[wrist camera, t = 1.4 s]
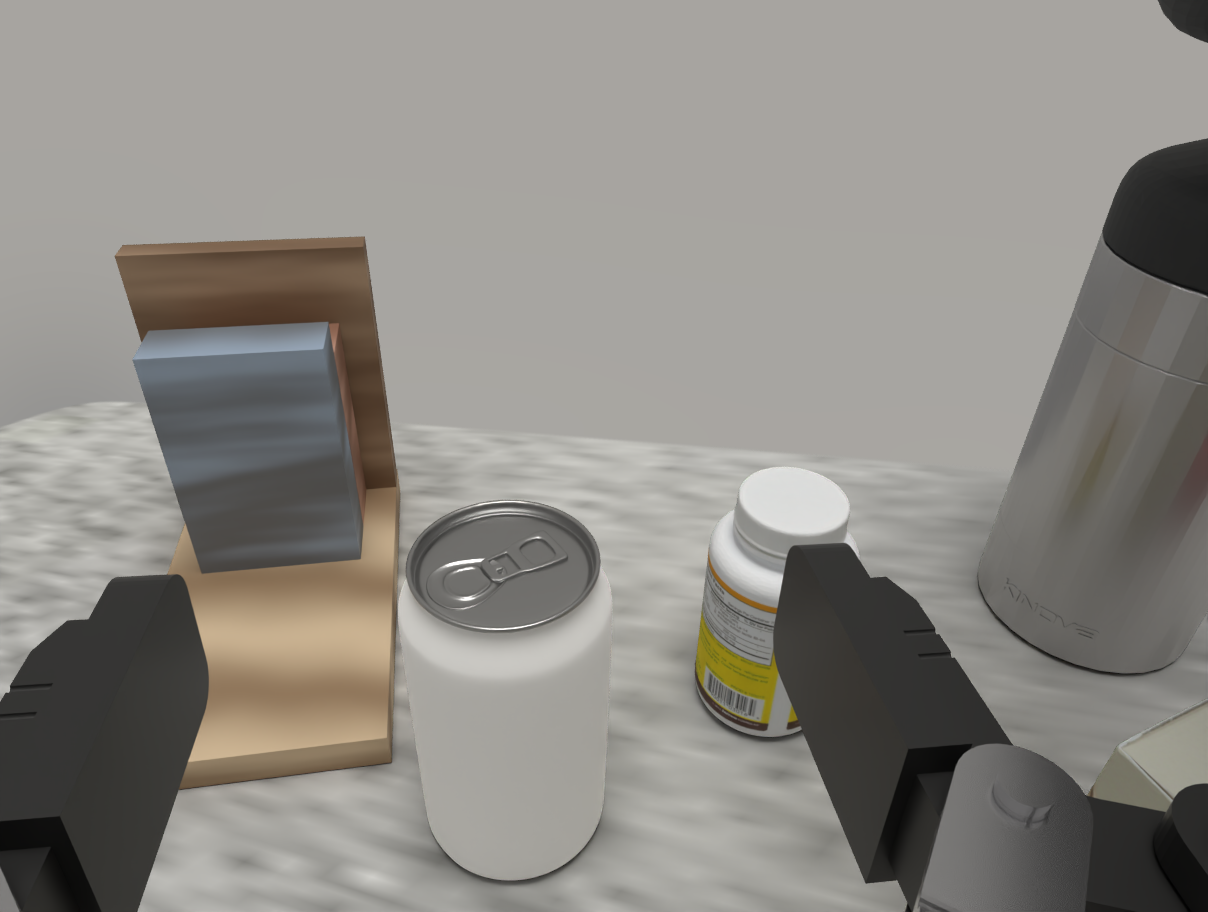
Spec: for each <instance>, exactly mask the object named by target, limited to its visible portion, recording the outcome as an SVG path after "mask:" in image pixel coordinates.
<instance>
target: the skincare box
mask: <svg viewBox="0 0 1208 912" xmlns="http://www.w3.org/2000/svg"><path fill="white" fill-rule="evenodd" d="M1202 783H1208V698H1207V699H1204V700H1202V701H1201V702H1199V703H1197V704H1195V705H1193V706H1191V707H1189V708H1186V709H1184V710H1183V711H1181V712H1179V713H1177V714H1175V715H1173V716H1171V717H1169V718H1167V719H1165V720H1162V721H1161V722H1159V723H1157V724H1155V725H1153V726H1152V727H1150V728H1147V729H1145V730H1144V731H1142V732H1140V733H1138V734H1136V735H1134V736H1132V737H1131V738H1129V739H1127V740H1126V741H1123V742H1121V743H1120V744H1119V745H1118V746H1116V748H1115V750H1114V752H1113V754H1112V756H1111V757H1110V759H1109V760H1108V762H1107V763H1106V765H1105V767H1104V768H1103V770H1102V771H1101V773H1100V775H1099V776H1098V778H1097V780H1096V782H1095V784H1094V785H1093V787H1092V788H1091V790H1090V792H1089V793H1088V795H1087V796H1090V797H1094V798H1098V799H1103V800H1108V801H1113V802H1118V803H1123V804H1128V805H1133V806H1138V807H1144V808H1149V809H1154V810H1159V811H1164V812H1166V811H1167V810H1168V808H1169V806H1170V804H1171V802H1172V801H1173V799H1174V797H1175V796H1176V795H1177V793H1178V792H1179V791H1181V790H1182V789H1184V788H1185V787H1188V786H1191V785H1194V784H1202Z"/></svg>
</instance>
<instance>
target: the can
mask: <svg viewBox="0 0 1208 912" xmlns="http://www.w3.org/2000/svg"><path fill="white" fill-rule="evenodd" d="M600 563H601V561H600V553H599V549H598V546H597V544H596V541H595V539H594V538H593V536H592V535H591V533H590V532H589V531H588V530H587V528H586V527H585V526H584V525H582V524H581V523H580V522H579V521H578V520H576V519H575V518H574V517H572V516H570V515H569V514H567V513H565V512H563V511H561V510H559V509H556V508H554V507H551V506H548V505H544V504H540V503H535V502H530V501H521V500H497V501H489V502H483V503H478V504H474V505H470V506H467V507H464V508H461V509H458V510H456V511H453V512H451V513H449V514H447V515H445V516H443V517H442V518H440V519H438V520H437V521H435V522H434V523H433V524H431V525H430V526H429V527H428V528H427V529H426V530H425V531H423V533H422V534H421V535H420V536H419V537H418V538H417V540H416V541H415V543H414V544H413V546H412V548H411V550H410V552H409V555H408V558H407V562H406V580H405V582H404V584H403V587H402V590H401V593H400V597H399V602H398V624H399V633H400V641H401V648H402V656H403V663H404V670H405V676H406V683H407V690H408V697H409V703H410V710H411V717H412V723H413V730H414V737H415V743H416V750H417V756H418V763H419V769H420V775H421V782H422V788H423V795H424V801H425V807H426V812H427V817H428V822H429V825H430V828H431V831H432V833H433V835H434V837H435V839H436V840H437V842H438V843H439V845H440V846H441V847H442V849H443V850H444V851H445V852H446V853H447V854H448V855H449V856H450V857H451V858H452V859H453V860H454V861H455V862H456V863H457V864H459V865H460V866H461V867H463V868H465V869H466V870H468V871H470V872H472V873H475V874H477V875H480V876H483V877H487V878H491V879H497V880H523V879H529V878H534V877H537V876H541V875H544V874H546V873H549V872H551V871H553V870H555V869H557V868H559V867H561V866H562V865H564V864H565V863H567V862H568V861H570V860H571V859H572V858H573V857H575V856H576V855H577V854H578V853H579V852H580V851H581V850H582V849H583V848H584V846H585V845H586V844H587V843H588V841H589V840H590V838H591V837H592V835H593V834H594V832H595V830H596V828H597V825H598V823H599V820H600V817H601V813H602V808H603V802H604V790H605V774H606V755H607V735H608V714H609V692H610V670H611V646H612V594H611V588H610V584H609V581H608V579H607V577H606V574H605V572H604V570H603V568H602V567H601V565H600Z"/></svg>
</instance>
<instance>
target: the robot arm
mask: <svg viewBox="0 0 1208 912" xmlns="http://www.w3.org/2000/svg"><path fill="white" fill-rule="evenodd" d="M1158 1H1159V4H1160V6H1161V9H1162V11H1163V13H1164V14H1165V16H1166V17H1167V18H1168V19H1169V20H1170V21H1171V22H1172V24H1173V25H1174V26H1175V27H1176V28H1177V29H1178V30H1180V31H1182V32H1184V33H1186V34H1188V35H1190V36H1192V37H1194V38H1196V39H1199V40H1201V41H1204V42H1207V43H1208V0H1158ZM978 580H979V587H980V589H981V591H982V593H983V596H984V598H985V600H986V602H987V603H988V604H989V606H990V607H991V608H992V610H993V611H994V613H995V614H996V615H997V616H998V617H999V618H1000V619H1001V620H1002V621H1003V622H1004V623H1005V624H1006V625H1007V626H1008V627H1009V628H1010V629H1011V630H1013V631H1014V632H1015V633H1017V634H1018V635H1020V636H1021V637H1022V638H1024V639H1025V640H1026V641H1028V642H1029V643H1031V644H1033V645H1034V646H1036V647H1038V648H1040V649H1042V650H1044V651H1045V652H1047V653H1049V654H1051V655H1053V656H1056V657H1058V658H1061V659H1063V660H1066V661H1068V662H1071V663H1073V664H1076V665H1080V666H1084V667H1088V668H1091V669H1095V670H1099V671H1107V672H1115V673H1145V672H1149V671H1153V670H1157V669H1161V668H1163V667H1165V666H1167V665H1169V664H1170V663H1172V662H1174V661H1176V660H1177V658H1178V657H1179V656H1180V655H1181V654H1182V653H1183V651H1184V650H1185V649H1186V647H1187V645H1188V644H1189V642H1190V640H1191V638H1192V637H1193V635H1194V633H1195V632H1196V630H1197V628H1198V627H1199V625H1200V623H1201V622H1202V620H1203V618H1204V617H1205V615H1206V613H1207V612H1208V139H1203V140H1198V141H1193V142H1189V143H1184V144H1179V145H1175V146H1171V147H1167V148H1164V149H1161V150H1158V151H1156V152H1153V153H1151V154H1149V155H1147V156H1145V157H1143V158H1142V159H1140V160H1139V161H1138V162H1136V163H1135V164H1134V165H1133V166H1132V167H1131V168H1130V169H1129V171H1128V172H1127V174H1126V175H1125V176H1124V178H1123V179H1122V181H1121V183H1120V186H1119V188H1118V190H1117V192H1116V194H1115V197H1114V199H1113V202H1112V205H1111V208H1110V210H1109V213H1108V216H1107V219H1106V222H1105V224H1104V227H1103V230H1102V234H1101V236H1100V239H1099V241H1098V244H1097V247H1096V250H1095V253H1094V255H1093V258H1092V260H1091V263H1090V266H1089V269H1088V271H1087V274H1086V277H1085V280H1084V282H1083V285H1082V288H1081V290H1080V293H1079V296H1078V299H1077V301H1076V304H1075V308H1074V311H1073V313H1072V316H1071V318H1070V321H1069V324H1068V327H1067V329H1066V332H1065V335H1064V337H1063V340H1062V343H1061V345H1060V348H1059V351H1058V353H1057V356H1056V359H1055V362H1054V365H1053V367H1052V370H1051V372H1050V375H1049V378H1048V380H1047V383H1046V386H1045V389H1044V391H1043V394H1042V397H1041V399H1040V402H1039V405H1038V407H1037V410H1036V413H1035V415H1034V418H1033V421H1032V424H1031V426H1030V429H1029V432H1028V434H1027V437H1026V440H1025V442H1024V445H1023V448H1022V451H1021V453H1020V456H1019V459H1018V461H1017V464H1016V467H1015V469H1014V472H1013V475H1012V477H1011V480H1010V483H1009V486H1008V488H1007V491H1006V494H1005V496H1004V499H1003V501H1002V504H1001V506H1000V509H999V512H998V514H997V517H996V520H995V523H994V525H993V528H992V531H991V533H990V536H989V539H988V542H987V544H986V547H985V550H984V552H983V555H982V558H981V561H980V565H979V569H978ZM773 648H774V656H775V662H776V666H777V670H778V673H779V675H780V678H781V680H782V683H783V685H784V687H785V690H786V692H787V695H788V697H789V700H790V702H791V704H792V707H793V709H794V712H795V714H796V716H797V719H798V721H799V724H800V726H801V728H802V731H803V733H804V736H805V738H806V741H807V743H808V745H809V748H810V750H811V753H812V755H813V757H814V760H815V762H816V765H817V767H818V770H819V772H820V774H821V777H822V779H823V782H824V784H825V786H826V789H827V791H828V794H829V796H830V798H831V801H832V803H833V806H834V808H835V811H836V813H837V815H838V818H839V820H840V823H841V825H842V827H843V830H844V832H845V835H846V837H847V839H848V842H849V844H850V847H851V849H852V852H853V854H854V856H855V859H856V861H857V864H858V866H859V868H860V871H861V873H862V876H863V878H864V881H865V883H875V882H885V881H895V880H898V883H899V885H900V887H901V889H902V891H903V894H904V896H905V898H906V900H907V902H906V905H905V908H904V911H903V912H1208V783H1202V784H1194V785H1191V786H1188V787H1185V788H1184V789H1182V790H1181V791H1179V792H1178V793H1177V795H1176V796H1175V797H1174V799H1173V801H1172V802H1171V804H1170V806H1169V808H1168V810H1167V811H1166V812H1164V811H1159V810H1154V809H1149V808H1144V807H1138V806H1133V805H1128V804H1123V803H1118V802H1113V801H1108V800H1103V799H1098V798H1094V797H1090V796H1086V795H1085V794H1084V793H1083V791H1082V790H1081V788H1080V787H1079V786H1078V784H1077V783H1076V782H1075V781H1074V780H1073V779H1072V778H1071V777H1070V776H1069V775H1068V774H1067V773H1066V772H1065V771H1064V770H1062V769H1061V768H1060V767H1058V766H1057V765H1056V764H1054V763H1053V762H1051V761H1049V760H1048V759H1046V758H1044V757H1043V756H1041V755H1038V754H1036V753H1034V752H1032V751H1029V750H1026V749H1023V748H1020V747H1017V746H1013V744H1012V743H1011V742H1010V740H1009V739H1008V737H1007V736H1006V734H1005V733H1004V731H1003V730H1002V728H1001V727H1000V725H999V724H998V722H997V721H996V719H995V718H994V716H993V715H992V713H991V712H990V710H989V709H988V707H987V706H986V704H985V703H984V701H983V700H982V698H981V697H980V695H979V694H978V692H977V690H976V689H975V687H974V686H973V684H972V683H971V681H970V680H969V678H968V677H967V675H966V674H965V672H964V671H963V669H962V668H961V666H960V665H959V663H958V662H957V660H956V659H955V658H952V657H951V651H950V650H949V648H948V647H947V645H946V644H945V642H944V641H943V639H942V638H941V636H940V635H939V634H937V635H936V633H935V627H934V626H933V624H932V623H931V621H930V620H929V618H928V617H927V615H926V614H925V612H924V611H923V609H922V608H921V606H920V605H919V603H918V602H917V600H915V599H914V598H913V597H911V596H910V595H909V594H908V593H906V592H905V591H904V590H902V589H901V588H900V587H899V586H897V585H896V584H895V583H893V582H892V581H891V580H890V579H888V578H887V577H877V578H870V576H869V575H868V573H867V572H866V570H865V568H864V567H863V565H862V563H861V562H860V560H859V559H858V557H857V555H856V554H855V552H854V551H853V549H852V548H851V546H849V545H848V544H847V543H828V544H808V545H794V546H792V547H791V548H790V550H789V552H788V554H787V558H786V563H785V569H784V574H783V580H782V585H781V591H780V596H779V602H778V607H777V613H776V618H775V624H774V630H773ZM208 692H209V671H208V664H207V659H206V655H205V652H204V648H203V644H202V640H201V637H200V633H199V629H198V625H197V621H196V618H195V614H194V610H193V606H192V603H191V599H190V595H189V591H188V588H187V585H186V582H185V580H184V579H183V577H182V576H181V575H178V574H171V575H151V576H131V577H116V578H114V579H112V580H111V581H110V582H109V584H108V585H107V587H106V589H105V590H104V592H103V594H102V596H101V598H100V599H99V601H98V603H97V605H96V607H95V608H94V610H93V612H92V614H91V616H90V617H89V619H87V620H69V621H66V622H65V623H64V624H63V625H61V626H60V627H59V628H58V629H57V630H56V631H54V632H53V633H52V634H51V635H50V636H49V637H47V638H46V639H45V640H44V641H43V642H41V643H40V644H39V645H38V646H37V647H36V648H34V649H33V650H32V651H31V652H30V654H29V655H28V657H27V659H26V660H25V662H24V664H23V665H22V667H21V669H20V670H19V672H18V674H17V675H16V677H15V678H14V680H13V682H12V683H11V685H10V692H9V693H5V695H4V697H3V698H2V700H1V701H0V912H137V911H138V908H139V905H140V902H141V899H142V896H143V893H144V890H145V887H146V884H147V881H148V878H149V875H150V873H151V870H152V867H153V864H154V861H155V858H156V855H157V852H158V849H159V846H160V843H161V840H162V837H163V834H164V831H165V828H166V825H167V822H168V819H169V816H170V814H171V811H172V808H173V805H174V802H175V799H176V796H177V793H178V790H179V787H180V784H181V781H182V778H183V775H184V772H185V769H186V766H187V763H188V760H189V758H190V755H191V752H192V749H193V746H194V743H195V740H196V737H197V734H198V731H199V728H200V725H201V722H202V719H203V716H204V713H205V710H206V705H207V700H208Z"/></svg>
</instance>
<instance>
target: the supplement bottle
mask: <svg viewBox="0 0 1208 912" xmlns="http://www.w3.org/2000/svg"><path fill="white" fill-rule="evenodd" d="M849 515H850V504H849V501H848V498H847V496H846V495H845V493H844V492H843V491H842V490H841V488H840V487H839V486H838V485H836V484H835V483H834V482H832V481H831V480H829V479H828V478H826V477H824V476H822V475H820V474H817V473H815V472H812V471H808V470H805V469H800V468H793V467H773V468H767V469H763V470H760V471H757V472H755V473H753V474H752V475H750V476H749V477H747V478H746V479H745V480H744V482H743V483H742V485H741V486H740V489H739V492H738V498H737V504H736V506H735V509H734V510H732V511H730V512H729V513H727V514H726V515H725V516H724V517H723V518H722V519H721V520H720V521H719V522H718V524H717V525H716V526H715V528H714V530H713V533H712V535H711V539H710V545H709V551H708V561H707V570H706V578H705V587H704V596H703V604H702V613H701V622H700V631H699V639H698V647H697V656H696V663H695V681H696V686H697V689H698V692H699V695H700V697H701V699H702V700H703V702H704V704H705V705H706V706H707V708H708V709H709V710H710V711H711V712H712V713H713V714H714V715H715V716H716V717H717V718H718V719H719V720H721V721H722V722H724V723H725V724H727V725H728V726H730V727H732V728H734V729H736V730H738V731H741V732H744V733H747V734H751V735H756V736H763V737H778V736H784V735H789V734H793V733H795V732H798V731H800V730H802V728H801V726H800V724H799V721H798V719H797V716H796V714H795V712H794V709H793V707H792V704H791V702H790V700H789V697H788V695H787V692H786V690H785V687H784V685H783V683H782V680H781V678H780V675H779V673H778V670H777V666H776V662H775V656H774V648H773V630H774V624H775V618H776V613H777V607H778V602H779V596H780V591H781V585H782V580H783V574H784V569H785V563H786V558H787V554H788V552H789V550H790V548H791V547H792V546H794V545H808V544H828V543H847V544H848V545H849V546H851V548H852V549H853V551H854V552H855V554H856V555H857V557H858V559H859V560H860V555H859V551H858V548H857V545H856V543H855V541H854V539H853V537H852V536H851V534H850V533H849V532H848V531H847V524H848V519H849Z"/></svg>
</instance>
